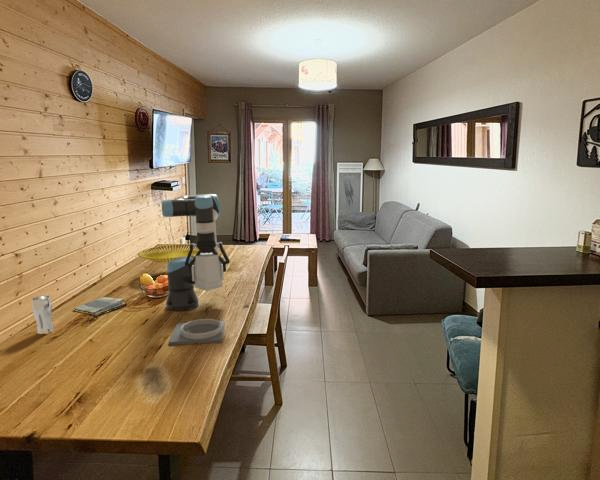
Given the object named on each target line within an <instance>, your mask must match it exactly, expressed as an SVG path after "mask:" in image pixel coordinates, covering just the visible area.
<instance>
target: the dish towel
mask: <svg viewBox="0 0 600 480" xmlns="http://www.w3.org/2000/svg"><path fill="white" fill-rule="evenodd" d="M124 301H125V299H124V298H114V297H113V298H112V297H106V296H105V297H100V298H96V299H94V300H92V301H88V302H86V303H83V304H80V305H78V306H75V307H74V308H73V309H75V310H78V311H83V312H88V313H93V315H98V314H99V313H105V312H107V311H110V310H113V309H115V308H118V307H120V306H122V305H124V304H127V305H128V302H124ZM122 307H123V306H122ZM118 309H119V308H118ZM113 311H114V310H113ZM110 312H111V311H110ZM105 314H106V313H105ZM93 315H92V316H93Z"/></svg>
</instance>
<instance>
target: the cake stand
mask: <svg viewBox="0 0 600 480" xmlns="http://www.w3.org/2000/svg"><path fill="white" fill-rule="evenodd" d="M189 251H190V244H187V243H186V244H178V243H177V244H167V245H160V246H154V247H149V248H146V249H143V250H141V251H139V252H137V256H138V257H140V258H142V259H145V260H147V261H148V260H149V261H152V262H155V263H168V262H169V261H170V260H172V259H175V258H179V257H185V256H188V253H189ZM198 251H199V249H198V248H197V246H196V247H195V248H194V249H193V251H192V254H191V258H192V259H193V255H196V254H197V252H198ZM163 275H167V272H165V273H164V274H162V276H163Z"/></svg>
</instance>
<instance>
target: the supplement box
mask: <svg viewBox="0 0 600 480" xmlns="http://www.w3.org/2000/svg"><path fill="white" fill-rule="evenodd" d="M218 255H219V256H220V257H222V253H219V254H218ZM218 255H214V254H213V253H212V252H211V253H201V254H200V255H199V256H196V260H195V262H194V276H195V284H194V287H195V288H196V289H199V290H202V291H205V292H208V291H211V290H215V289H218V288H219V289H220V288H222V287H223V280H222V272H221V262H220V261H219V257H218ZM194 257H195V255H193V258H194ZM193 258H192V259H193ZM195 288H194V289H195Z"/></svg>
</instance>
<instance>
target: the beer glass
mask: <svg viewBox="0 0 600 480" xmlns="http://www.w3.org/2000/svg"><path fill="white" fill-rule="evenodd" d="M31 310H32V313H33V314H32V315H33V317H34V319H35V322H36V327H37V328H36V329H37V330H36V331H37V332H36V334H37V333H39V334H42V333H48V332H51V331H53V330H54V326H53V323H52V319H53V305H52V300H51V296H50V295H46V294H45V295H38V296H35V297H32V298H31ZM54 331H55V330H54ZM54 331H53V332H54Z"/></svg>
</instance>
